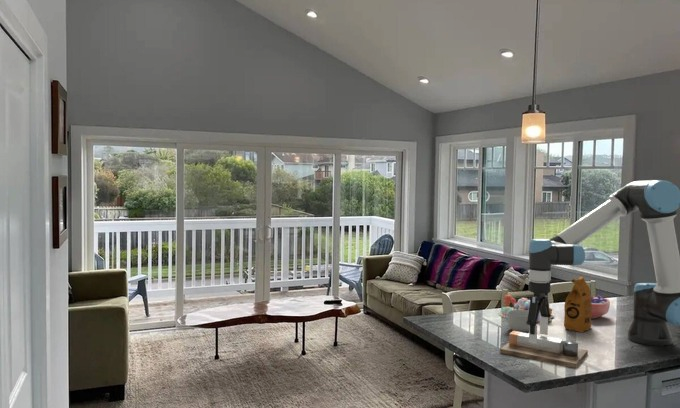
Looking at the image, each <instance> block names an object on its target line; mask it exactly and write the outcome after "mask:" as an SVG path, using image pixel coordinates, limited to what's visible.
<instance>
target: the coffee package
mask: <svg viewBox="0 0 680 408" xmlns="http://www.w3.org/2000/svg"><path fill="white" fill-rule="evenodd" d="M570 282H571V283H573V284H574V285H573V286H572V288H571V291H570V292H569V293H568V294H567V297H565V300H564V301H565V302H564V309H563V310H564V317H563V318H564V319H563V320H564V321H563V326H564V328H565V330H570V331H573V332H578V333H585V331H589V330H590V329H591V328H592V318H591V309H592V304H591V296H592V294H591V290H590V288H589V286H588V284H587V281H586V280H585V278H584V276H579V277H578V278H576V279H575V278H573V279H572V280H571V281H570Z"/></svg>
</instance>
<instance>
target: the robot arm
mask: <svg viewBox="0 0 680 408" xmlns="http://www.w3.org/2000/svg"><path fill="white" fill-rule="evenodd" d="M679 207H680V189H679V187H678V186H677V185H676V184H674V183H672V182H671V181H669V180H662V179H649V180H641V179H640V180H635V181H631V182H629V183H627V184H626V185H624V186H622V187H620V188H619V189H618V190H616V191H614V192H613V193H611V194H610V195H609V196H607V198H606V200H605V202H603V203H602V204H600V205H599V206H597V207H596V208H595V209H593V210H591V211H590V212H588V213H586V214H585V215H584V216H582V217H581V218H579V219H578V220H577V221H576V222H573V223H572V224H571V225H569V226H568V227H566V228H565V229H563V230H562V231H560V232H559V233H557V234H556V235H554V236H553V237H551V238H550V239H547V238H533V239H530V241H529V249H528V253H529V254H528V255H529V256H528V264H529V265H528V271H527V274H528V279H529V281H528V291H529V292H531V293H533V296H530V297H529V300H530V307H529V313H528V319H527V322H526V324H528V325H529V332H528V334H529V342H530V343H535V344H537V335H538V322H537V320H538V315H539V311H540V314H541V316H542V317H541V316H540V322H539V335H545V336H547V335H548V334H549V333H548V332H549V329H548V328H549V321H548V317H550V310H549V308H550V303H549V293H550V292H551V280H552V278H551V277H552V266H573V267H574V266H581V265H582V264H583V263H584V262H585V260H586V251H585V249H584V247H583V246H582V245H580V243H583V241H585V240H587V239H588V238H590V237H591V236H592V235H594V234H596V233H597V232H598V231H600V230H602V229H603V228H604V227H606V226H607V225H609V224H610V223H612V222H613V221H615V220H616V219H618V218H620V217H626V216H627V215H629V214H631V213H634V212H639V217H640V219H641V220H642V221H643V222H645V223H646V229H647V234H648V235H647V236H648V240H649V245H650V252H651V255H652V263H653V268H654V274H655V280H656V282H639V283H638V282H637V283H635V285H634V288H633V314H632V315H633V317H632V318H633V319H632V322H631V324H630V327H629V328H628V330H627V338H628V340H631V341H633V342H635V343H639V344H643V345H647V346H654V345H655V346H656V347H665V346H664V345H668V346H671V345H672V344H673V337H672V334H671V330H670V328H669V325H668V323H669V324H671V325H673V326H679V327H680V250H679V246H678V240H677V234H676V229H675V222H674V219H675V217H677V216H678V210H677V209H679ZM670 344H671V345H670ZM655 346H654V347H655Z"/></svg>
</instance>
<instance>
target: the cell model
mask: <svg viewBox="0 0 680 408" xmlns="http://www.w3.org/2000/svg"><path fill="white" fill-rule="evenodd" d="M591 304H592V309H591V319H596V318H601V317H602V316H604V315H607V314H608V312H609V311H610V307H611V306H610V305H611V301H610V300H609V299H608V298H606V297H605V298H604V297H603V296H601V295H597V296H594V295H593V296H592V295H591Z"/></svg>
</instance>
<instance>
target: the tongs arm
mask: <svg viewBox="0 0 680 408" xmlns="http://www.w3.org/2000/svg"><path fill="white" fill-rule="evenodd" d="M508 333H509V332H508ZM508 335H509V337H508V338H509V339H508V341H509V342H508V343H509V344H510V345H515V346H521V347H527V348H532V349H537V350H542V351H547V352H553V353H558V354H560V353H561V341H556V340H551V339H545V338H539V337H537V344H535V343H530V342H529V336H528V335H523V334H518V333H512V331H511V332H510V333H509V334H508Z"/></svg>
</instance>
